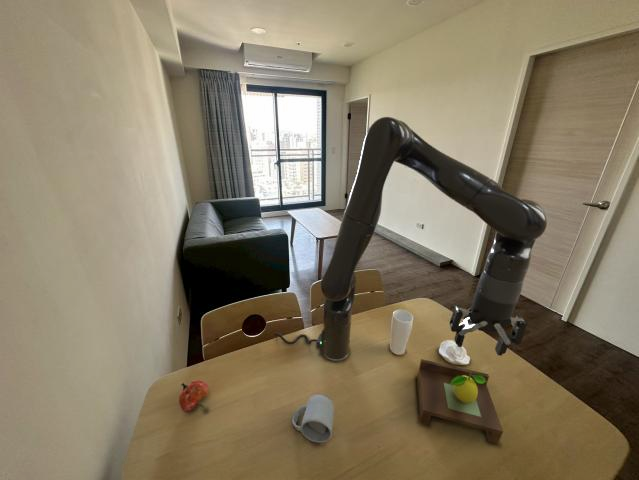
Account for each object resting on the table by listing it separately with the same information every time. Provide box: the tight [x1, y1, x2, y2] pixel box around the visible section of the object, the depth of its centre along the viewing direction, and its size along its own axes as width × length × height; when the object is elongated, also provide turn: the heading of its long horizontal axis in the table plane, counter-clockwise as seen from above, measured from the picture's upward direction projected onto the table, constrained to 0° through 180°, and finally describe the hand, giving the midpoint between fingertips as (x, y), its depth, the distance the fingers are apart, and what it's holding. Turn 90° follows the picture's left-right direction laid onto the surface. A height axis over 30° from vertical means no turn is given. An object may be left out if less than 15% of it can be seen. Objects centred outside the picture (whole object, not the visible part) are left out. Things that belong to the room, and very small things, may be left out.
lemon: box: [450, 372, 486, 403], centre depth 66 cm, size 7×6×10 cm
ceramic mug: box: [291, 393, 335, 444], centre depth 64 cm, size 11×8×8 cm
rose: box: [438, 339, 471, 366], centre depth 87 cm, size 10×4×10 cm
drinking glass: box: [389, 309, 414, 356], centre depth 87 cm, size 7×7×15 cm
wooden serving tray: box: [416, 358, 504, 445], centre depth 69 cm, size 18×14×8 cm
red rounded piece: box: [178, 380, 210, 412], centre depth 69 cm, size 7×7×10 cm
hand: (477, 348), depth 61 cm, fingers open, 8 cm apart
